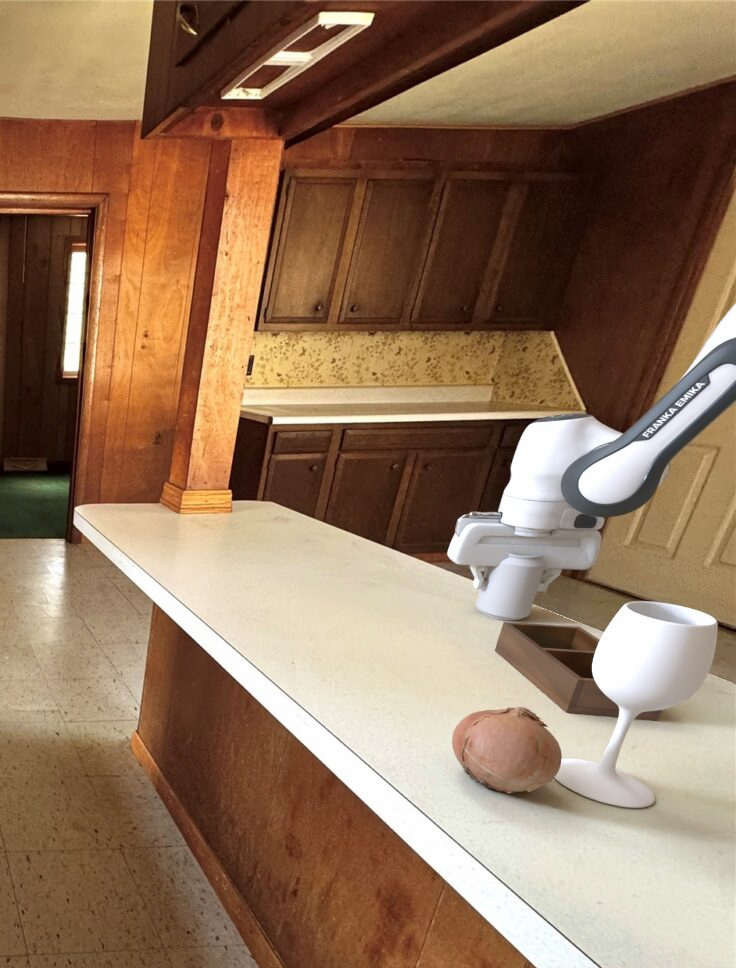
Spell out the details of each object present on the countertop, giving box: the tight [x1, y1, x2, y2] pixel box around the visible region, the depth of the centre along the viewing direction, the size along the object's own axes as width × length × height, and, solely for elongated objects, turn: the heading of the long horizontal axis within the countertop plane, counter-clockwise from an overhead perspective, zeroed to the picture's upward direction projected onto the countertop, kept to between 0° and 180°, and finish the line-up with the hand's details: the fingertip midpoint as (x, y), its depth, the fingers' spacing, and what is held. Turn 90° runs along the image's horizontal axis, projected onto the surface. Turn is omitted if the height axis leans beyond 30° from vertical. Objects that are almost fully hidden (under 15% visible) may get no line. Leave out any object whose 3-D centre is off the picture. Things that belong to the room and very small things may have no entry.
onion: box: [451, 706, 563, 794], centre depth 74 cm, size 10×9×10 cm
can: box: [475, 554, 545, 622], centre depth 116 cm, size 8×8×12 cm
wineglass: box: [553, 600, 719, 809], centre depth 71 cm, size 9×9×21 cm
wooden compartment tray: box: [494, 621, 663, 722], centre depth 94 cm, size 10×19×5 cm, turn 165°
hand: (508, 589), depth 116 cm, fingers closed on can, 7 cm apart
